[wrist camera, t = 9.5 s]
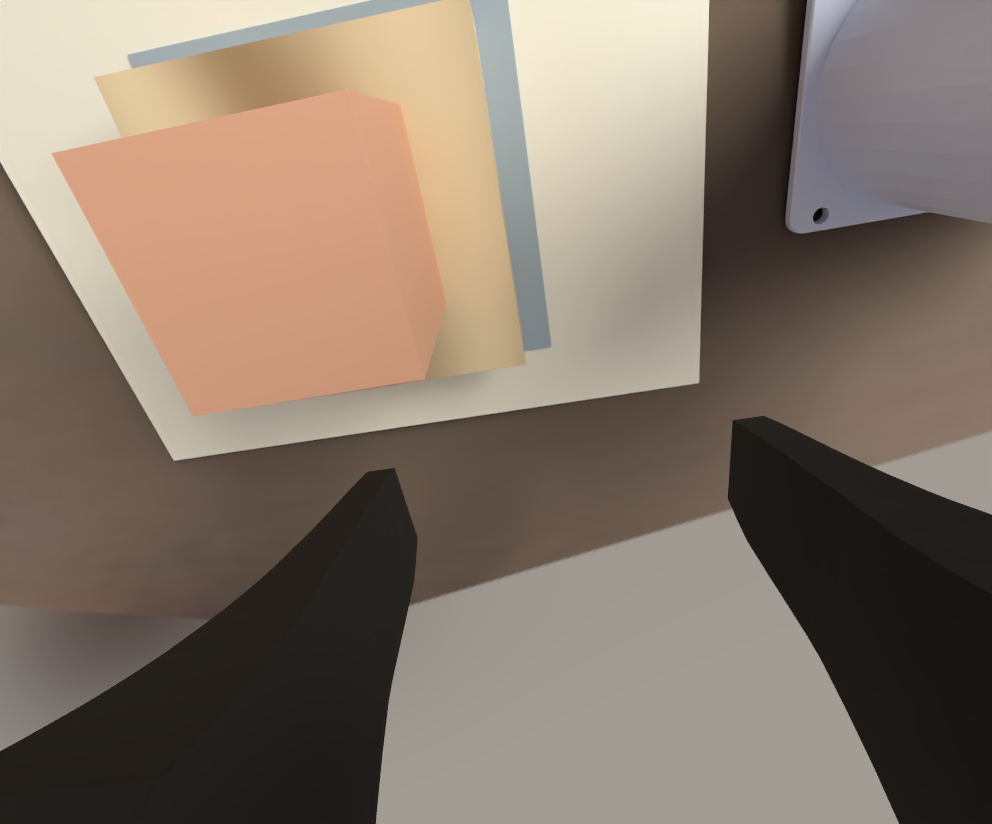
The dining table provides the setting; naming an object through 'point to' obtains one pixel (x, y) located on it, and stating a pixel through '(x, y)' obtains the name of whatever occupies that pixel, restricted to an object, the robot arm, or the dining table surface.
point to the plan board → (522, 178)
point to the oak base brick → (431, 132)
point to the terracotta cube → (271, 248)
